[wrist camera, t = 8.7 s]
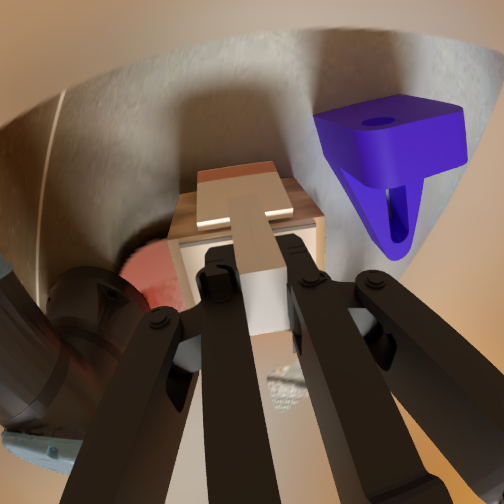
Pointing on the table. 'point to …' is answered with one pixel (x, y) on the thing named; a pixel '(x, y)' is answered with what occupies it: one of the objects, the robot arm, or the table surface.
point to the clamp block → (198, 242)
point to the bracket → (391, 159)
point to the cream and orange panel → (239, 193)
